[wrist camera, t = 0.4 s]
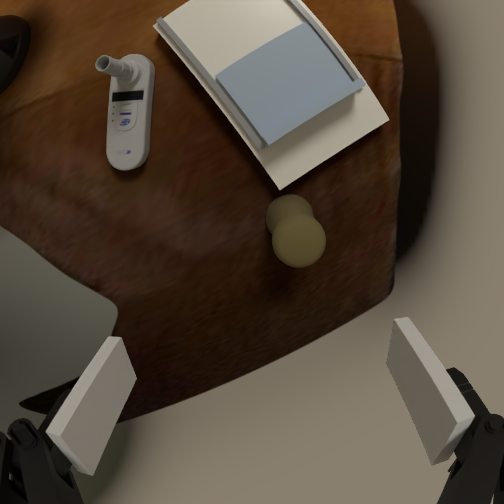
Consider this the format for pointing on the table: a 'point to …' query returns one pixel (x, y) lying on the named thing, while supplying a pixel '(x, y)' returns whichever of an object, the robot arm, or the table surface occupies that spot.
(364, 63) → the table surface
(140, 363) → the table surface
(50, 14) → the table surface
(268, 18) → the socket plate
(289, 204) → the cork
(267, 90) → the panel
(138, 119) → the electronic device
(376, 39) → the table surface
